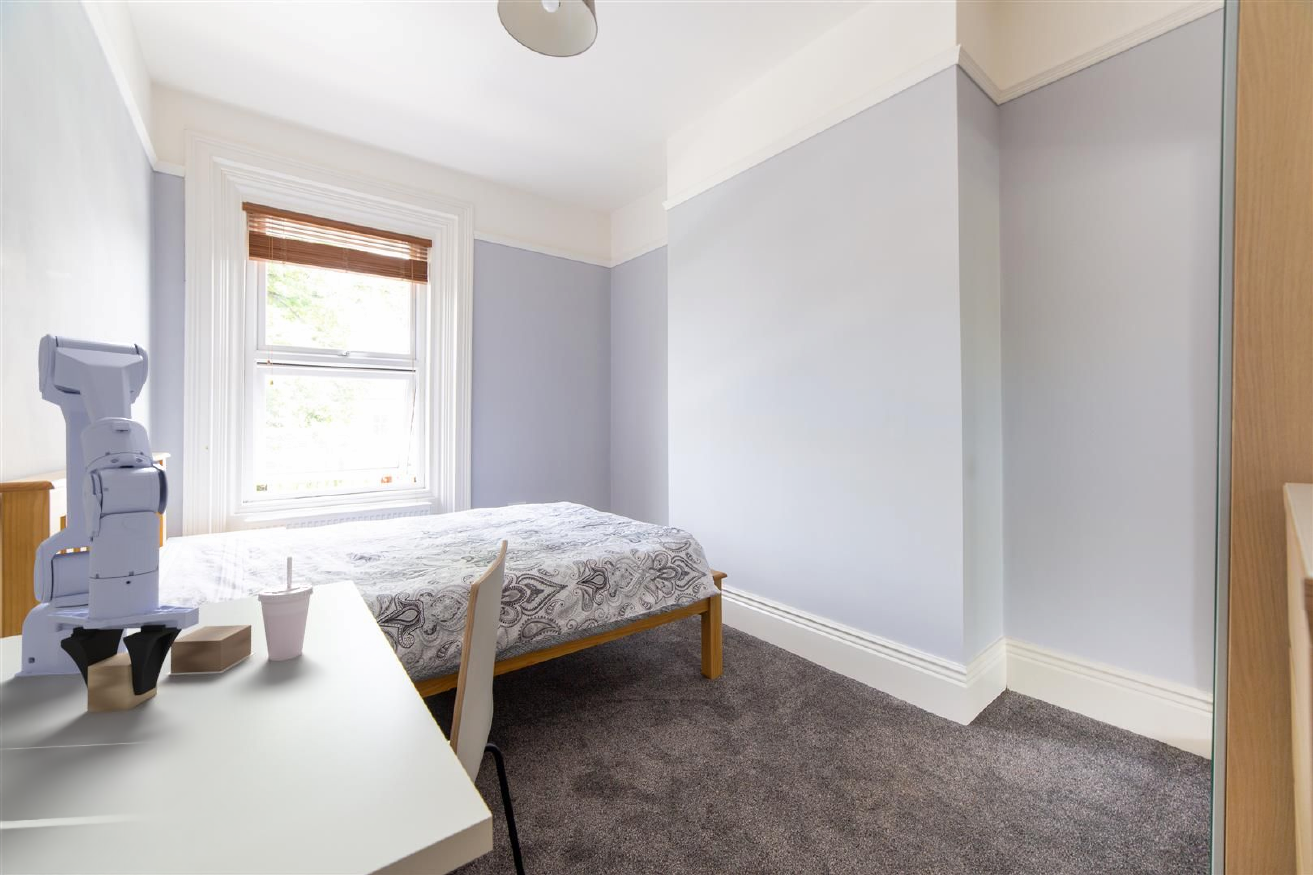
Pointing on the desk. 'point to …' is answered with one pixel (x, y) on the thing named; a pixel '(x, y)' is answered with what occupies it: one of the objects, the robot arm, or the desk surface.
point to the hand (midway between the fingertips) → (123, 692)
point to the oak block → (113, 685)
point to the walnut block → (210, 649)
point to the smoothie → (285, 617)
